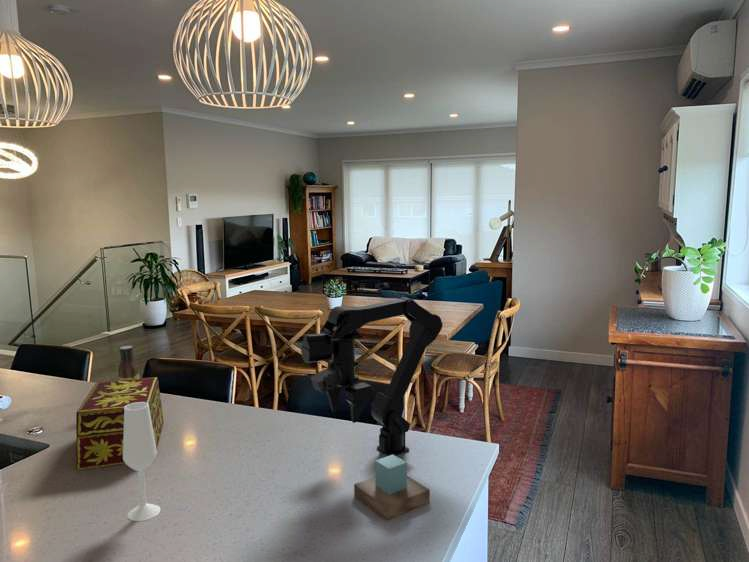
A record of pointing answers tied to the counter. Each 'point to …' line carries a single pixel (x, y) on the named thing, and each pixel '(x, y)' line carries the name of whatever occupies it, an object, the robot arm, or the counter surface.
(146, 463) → the champagne flute
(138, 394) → the decorative box
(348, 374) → the robot arm
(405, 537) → the counter surface
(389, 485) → the teal block
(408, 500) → the walnut base
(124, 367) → the sauce bottle
